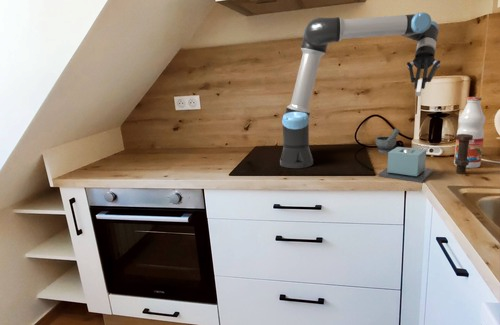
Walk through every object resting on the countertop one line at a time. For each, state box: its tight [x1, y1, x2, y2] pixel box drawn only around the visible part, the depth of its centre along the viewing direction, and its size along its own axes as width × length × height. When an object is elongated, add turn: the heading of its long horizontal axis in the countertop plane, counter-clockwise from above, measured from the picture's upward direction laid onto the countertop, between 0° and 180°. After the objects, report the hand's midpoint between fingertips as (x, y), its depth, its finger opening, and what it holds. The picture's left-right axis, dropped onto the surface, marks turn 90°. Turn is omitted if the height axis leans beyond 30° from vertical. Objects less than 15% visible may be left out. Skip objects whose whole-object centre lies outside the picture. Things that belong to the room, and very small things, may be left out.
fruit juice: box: [453, 96, 486, 169], centre depth 140 cm, size 9×9×28 cm
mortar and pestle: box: [374, 127, 401, 154], centre depth 172 cm, size 11×9×12 cm
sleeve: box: [386, 146, 427, 176], centre depth 136 cm, size 11×11×8 cm
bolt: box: [454, 134, 473, 175], centre depth 133 cm, size 6×5×15 cm
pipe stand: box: [377, 149, 434, 184], centre depth 136 cm, size 16×16×10 cm
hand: (418, 94), depth 140 cm, fingers closed
